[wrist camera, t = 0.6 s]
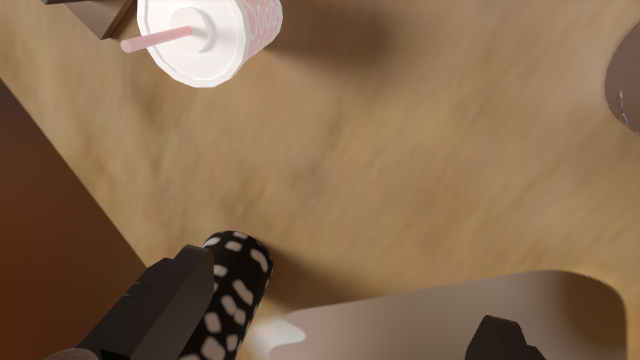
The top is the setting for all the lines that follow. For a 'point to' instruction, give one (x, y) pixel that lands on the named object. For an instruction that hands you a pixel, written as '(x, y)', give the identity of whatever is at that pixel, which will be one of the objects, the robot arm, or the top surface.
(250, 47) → the beverage cup
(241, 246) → the white-spotted black cylinder
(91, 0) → the cup holder
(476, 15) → the top surface
